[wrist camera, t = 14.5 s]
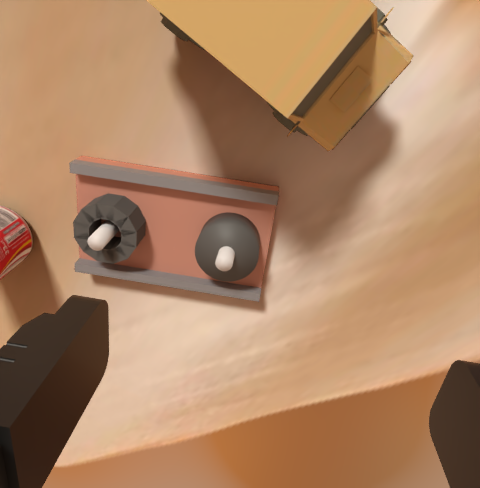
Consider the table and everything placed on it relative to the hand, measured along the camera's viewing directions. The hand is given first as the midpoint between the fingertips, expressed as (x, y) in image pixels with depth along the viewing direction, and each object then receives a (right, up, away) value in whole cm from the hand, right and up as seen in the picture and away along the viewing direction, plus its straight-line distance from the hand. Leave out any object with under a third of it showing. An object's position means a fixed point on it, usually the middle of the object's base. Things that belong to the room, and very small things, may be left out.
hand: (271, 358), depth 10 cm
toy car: (+2, +21, +25) cm, 33 cm away
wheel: (-13, +5, +33) cm, 36 cm away
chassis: (-7, +5, +34) cm, 35 cm away
